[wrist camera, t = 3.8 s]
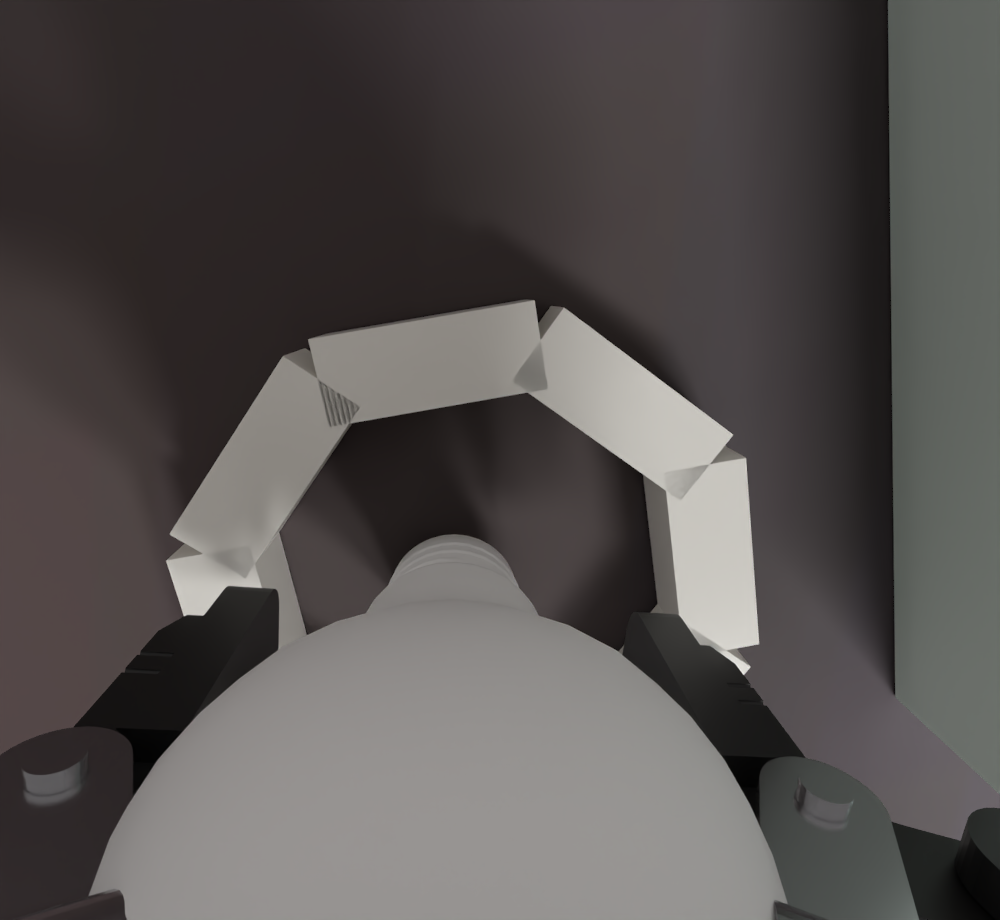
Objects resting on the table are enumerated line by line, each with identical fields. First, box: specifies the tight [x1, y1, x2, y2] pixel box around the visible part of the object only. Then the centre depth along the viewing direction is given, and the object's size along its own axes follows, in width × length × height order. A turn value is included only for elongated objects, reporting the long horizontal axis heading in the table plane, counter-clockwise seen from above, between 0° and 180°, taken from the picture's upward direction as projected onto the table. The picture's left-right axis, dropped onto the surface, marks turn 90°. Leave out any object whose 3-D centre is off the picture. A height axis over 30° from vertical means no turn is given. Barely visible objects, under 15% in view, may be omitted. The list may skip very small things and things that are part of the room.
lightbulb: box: [89, 534, 788, 920], centre depth 8 cm, size 6×6×11 cm
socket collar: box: [166, 299, 759, 675], centre depth 13 cm, size 10×10×2 cm
